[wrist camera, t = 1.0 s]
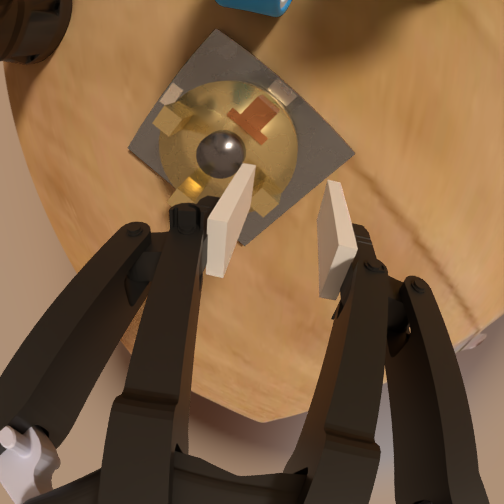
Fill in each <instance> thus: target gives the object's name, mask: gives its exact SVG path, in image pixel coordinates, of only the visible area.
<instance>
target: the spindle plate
mask: <svg viewBox="0 0 504 504" xmlns="http://www.w3.org/2000/svg"><path fill="white" fill-rule="evenodd" d="M217 81H243V82H247V83H251V84H254V85H256V86H259V87H261V88H263V89H265V90H266V91H268V92H270V93H271V94H272V95H273V96H275V97H276V98H277V99H278V100H279V101H280V102H281V103H282V104H283V105H284V107H285V108H286V109H287V111H288V112H289V114H290V116H291V118H292V120H293V122H294V125H295V128H296V132H297V138H298V152H297V162H296V167H295V170H294V173H293V176H292V178H291V180H290V182H289V184H288V186H287V187H286V188H285V190H284V191H283V192H282V193H281V197H280V202H279V204H278V205H277V206H276V207H275V208H274V209H273V210H271V211H270V212H269V213H268V214H267V215H266V216H265V217H262V216H261V215H260V214H258V213H257V212H256V211H253V212H250V213H248V214H247V217H246V219H245V222H244V225H243V227H242V230H241V232H240V235H239V238H238V241H239V242H240V243H242V244H243V245H244V246H245V245H247V244H248V243H249V242H250V241H251V240H253V239H254V238H255V237H256V236H257V235H258V234H260V233H261V232H262V231H263V230H264V229H266V228H267V227H268V226H269V225H270V224H272V223H273V222H274V221H275V220H276V219H277V218H279V217H280V216H281V215H282V214H283V213H285V212H286V211H287V210H288V209H289V208H291V207H292V206H293V205H294V204H295V203H297V202H298V201H299V200H300V199H301V198H303V197H304V196H305V195H306V194H307V193H309V192H310V191H311V190H312V189H313V188H315V187H316V186H317V185H318V184H319V183H321V182H322V181H323V180H324V179H325V178H327V177H328V176H329V175H330V174H331V173H333V172H334V171H335V170H336V169H338V168H339V167H340V166H341V165H342V164H344V163H345V162H346V161H347V160H348V159H350V158H351V157H352V156H353V155H355V152H354V151H353V150H352V149H351V148H350V146H349V145H348V144H347V143H346V142H345V141H344V140H343V139H342V138H341V136H340V135H339V134H338V133H337V132H336V131H335V130H334V129H333V128H332V127H331V126H330V125H329V124H328V123H327V122H326V121H325V120H324V118H323V117H322V116H321V115H320V114H319V113H318V112H317V111H316V110H315V109H314V108H313V107H312V106H310V105H309V104H308V103H307V102H306V101H305V100H304V99H303V98H302V97H301V96H300V95H299V94H298V93H297V92H296V91H295V90H294V89H292V88H291V87H290V86H289V85H288V84H287V83H286V82H285V81H284V80H282V79H281V78H280V77H279V76H278V75H277V74H276V73H274V72H273V71H272V70H271V69H270V68H268V67H267V66H266V65H265V64H264V63H262V62H261V61H260V60H259V59H257V58H256V57H255V56H254V55H252V54H251V53H250V52H249V51H247V50H246V49H245V48H243V47H242V46H241V45H239V44H238V43H237V42H235V41H234V40H233V39H231V38H230V37H228V36H227V35H226V34H224V33H223V32H221V31H220V30H218V29H215V30H214V31H213V32H212V33H211V34H210V36H209V37H208V38H207V39H206V40H205V41H204V42H203V43H202V45H201V46H200V47H199V48H198V49H197V50H196V52H195V53H194V54H193V55H192V56H191V57H190V59H189V60H188V61H187V62H186V64H185V65H184V66H183V67H182V69H181V70H180V71H179V72H178V74H177V75H176V76H175V78H174V79H173V80H172V82H171V83H170V84H169V86H168V87H167V88H166V90H165V91H164V93H163V94H162V95H161V97H160V98H159V100H158V101H157V103H156V104H155V105H154V107H153V108H152V110H151V111H150V113H149V114H148V116H147V117H146V119H145V121H144V122H143V124H142V125H141V127H140V128H139V130H138V132H137V133H136V135H135V137H134V138H133V140H132V142H131V143H130V145H129V147H128V149H129V150H130V151H132V152H133V153H134V154H135V155H136V156H138V157H139V158H140V159H141V160H142V161H144V162H145V163H146V164H147V165H148V166H149V167H151V168H152V169H153V170H154V171H155V172H157V173H158V174H159V175H160V176H161V177H163V178H164V179H165V180H166V181H167V182H169V183H170V184H171V182H170V181H169V179H168V177H167V175H166V173H165V171H164V169H163V166H162V163H161V159H160V154H159V136H160V129H158V128H157V127H156V126H155V125H154V124H152V123H153V121H154V120H155V118H156V117H157V115H158V114H159V113H160V111H161V110H162V108H163V107H164V105H167V104H171V103H174V102H176V101H177V100H178V99H179V98H180V97H181V96H183V95H184V94H185V93H187V92H188V91H190V90H192V89H194V88H196V87H198V86H201V85H204V84H207V83H211V82H217ZM171 185H172V184H171ZM172 186H173V185H172ZM173 187H174V186H173Z"/></svg>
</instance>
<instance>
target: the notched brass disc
mask: <svg viewBox="0 0 504 504" xmlns="http://www.w3.org/2000/svg"><path fill="white" fill-rule="evenodd" d="M152 124H154V125H155V126H156V127H157V128H158V129H160V136H159V154H160V159H161V163H162V166H163V169H164V171H165V173H166V175H167V177H168V179H169V181H170V182H171V184H172V185H173V186H174V187H175V189H176V190H175V192H174V193H173V194H172V196H171V197H170V198H169V199H168V201H167V203H168V204H169V205H170V206H171V207H172V206H174V205H176V204H180V203H195V204H197V203H198V201H199V200H200V199H202V198H203V197H205V196H207V195H209V196H215V197H220V198H221V196H222V195H223V193H224V191H225V190H226V188H227V187H228V185H229V184H230V182H231V181H232V179H233V177H234V176H235V174H236V173H237V171H238V170H239V168H240V167H241V165H242V164H243V163H246V164H252V165H256V169H255V176H254V183H253V191H252V198H251V206H250V209H249V212H248V213H250V212H253V211H256V212H257V213H258V214H260V215H261V216H262V217H265V216H266V215H267V214H268V213H269V212H270V211H271V210H273V209H274V208H275V207H276V206H277V205H278V204H279V202H280V197H281V193H282V192H283V191H284V190H285V188H286V187H287V186H288V184H289V182H290V180H291V178H292V176H293V173H294V170H295V167H296V162H297V152H298V138H297V132H296V128H295V125H294V122H293V120H292V118H291V116H290V114H289V112H288V111H287V109H286V108H285V107H284V105H283V104H282V103H281V102H280V101H279V100H278V99H277V98H276V97H275V96H273V95H272V94H271V93H270V92H268V91H266V90H265V89H263V88H261V87H259V86H256V85H254V84H251V83H247V82H243V81H217V82H211V83H207V84H204V85H201V86H198V87H196V88H194V89H192V90H190V91H188V92H187V93H185V94H184V95H183V96H181V97H180V98H179V99H178V100H177V101H176V102H174V103H171V104H167V105H164V107H163V108H162V110H161V111H160V113H159V114H158V115H157V117H156V118H155V120H154V121H153V123H152Z"/></svg>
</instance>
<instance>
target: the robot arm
mask: <svg viewBox="0 0 504 504" xmlns="http://www.w3.org/2000/svg"><path fill="white" fill-rule="evenodd" d="M71 11H72V0H0V61H6V62H12V63H18V64H23V65H27V64H33V63H37V62H40V61H42V60H44V59H46V58H47V57H48V56H49V55H50V54H51V53H52V52H53V51H54V50H55V48H56V47H57V46H58V44H59V43H60V41H61V39H62V37H63V35H64V33H65V31H66V29H67V26H68V23H69V20H70V16H71ZM255 169H256V165H252V164H246V163H243V164H242V165H241V167H240V168H239V170H238V171H237V173H236V174H235V176H234V177H233V179H232V181H231V182H230V184H229V185H228V187H227V188H226V190H225V191H224V193H223V195H222V196H221V198H220V197H215V196H209V195H207V196H205V197H203V198H202V199H200V200H199V201H198V203H197V204H195V203H180V204H176V205H174V206H172V207H171V208H170V210H169V216H170V230H169V232H158V233H151V231H150V226H149V225H148V224H146V223H143V222H131V223H128V224H126V225H124V226H123V227H121V228H120V229H119V230H118V231H117V232H116V233H115V234H114V235H113V236H112V237H111V238H110V239H109V240H108V241H107V242H106V243H105V244H104V245H103V246H102V247H101V248H100V250H99V251H98V252H97V253H96V254H95V255H94V256H93V257H92V258H91V259H90V260H89V261H88V262H87V264H86V265H85V266H84V267H83V268H82V269H81V270H80V271H79V272H78V274H77V275H76V276H75V277H74V278H73V279H72V280H71V282H70V283H69V284H68V285H67V286H66V288H65V289H64V290H63V291H62V292H61V293H60V295H59V296H58V297H57V298H56V300H55V301H54V302H53V303H52V304H51V306H50V307H49V308H48V309H47V311H46V312H45V313H44V315H43V316H42V317H41V319H40V320H39V321H38V322H37V324H36V325H35V326H34V328H33V329H32V331H31V332H30V333H29V335H28V336H27V337H26V339H25V340H24V342H23V343H22V344H21V346H20V348H19V349H18V351H17V352H16V353H15V355H14V357H13V358H12V359H11V361H10V362H9V364H8V365H7V367H6V369H5V370H4V372H3V373H2V375H1V377H0V482H1V484H2V485H3V487H4V488H5V490H6V491H7V493H8V494H9V496H10V497H11V499H12V500H13V502H14V503H15V504H368V503H369V500H370V497H371V493H372V490H373V486H374V482H375V478H376V474H377V470H378V466H379V461H380V453H381V451H380V446H379V445H377V444H376V443H375V440H374V436H375V430H376V424H377V418H378V412H379V406H380V399H381V392H382V384H383V376H384V366H385V369H386V376H387V383H388V391H389V400H390V408H391V418H392V431H393V447H394V485H395V501H396V504H489V500H488V497H487V494H486V491H485V488H484V485H483V483H482V480H481V477H480V474H479V471H478V459H477V451H476V443H475V436H474V430H473V424H472V419H471V414H470V409H469V404H468V400H467V395H466V391H465V387H464V383H463V379H462V376H461V372H460V369H459V365H458V362H457V359H456V355H455V352H454V349H453V346H452V343H451V340H450V337H449V334H448V331H447V328H446V326H445V323H444V320H443V318H442V315H441V312H440V310H439V307H438V305H437V302H436V300H435V298H434V295H433V293H432V290H431V288H430V287H429V285H428V284H427V283H426V282H425V281H424V280H423V279H421V278H419V277H416V276H408V277H406V279H405V280H404V282H401V281H399V280H396V279H394V278H392V277H390V276H388V271H387V268H386V266H385V265H384V264H383V263H382V262H381V261H379V260H378V259H377V258H376V255H375V252H374V248H373V245H372V242H371V240H370V235H369V232H368V231H367V230H366V229H365V228H364V226H362V225H357V224H353V223H351V219H350V215H349V212H348V208H347V204H346V201H345V197H344V193H343V190H342V187H341V183H340V182H336V181H332V180H327V184H326V188H325V192H324V196H323V199H322V203H321V207H320V211H319V214H318V218H317V233H318V261H319V297H321V298H326V299H332V300H336V299H337V297H338V295H339V292H340V295H341V300H340V302H339V304H338V306H337V308H336V310H335V312H334V314H333V316H332V318H331V319H333V320H334V322H333V327H332V331H331V335H330V339H329V343H328V347H327V350H326V354H325V358H324V361H323V365H322V369H321V372H320V376H319V379H318V382H317V386H316V389H315V392H314V396H313V399H312V402H311V405H310V408H309V411H308V414H307V417H306V420H305V423H304V426H303V429H302V432H301V435H300V437H299V440H298V443H297V445H296V448H295V450H294V452H293V454H292V456H291V458H290V459H289V461H288V462H287V464H286V466H285V468H284V471H283V473H276V474H266V475H255V476H237V475H234V474H232V473H230V472H228V471H225V470H223V469H221V468H219V467H217V466H215V465H213V464H211V463H208V462H207V461H205V460H203V459H201V458H198V457H194V456H190V455H188V421H189V407H190V394H191V382H192V371H193V360H194V350H195V341H196V332H197V323H198V314H199V306H200V298H201V290H202V282H203V271H204V269H205V266H206V274H207V275H212V276H216V277H221V278H223V277H224V274H225V272H226V269H227V266H228V264H229V261H230V258H231V256H232V253H233V251H234V248H235V245H236V243H237V240H238V238H239V235H240V232H241V230H242V227H243V225H244V222H245V219H246V217H247V214H248V212H249V209H250V206H251V198H252V191H253V183H254V176H255ZM147 296H148V297H147ZM146 297H147V300H146V304H145V307H144V310H143V314H142V318H141V321H140V325H139V328H138V332H137V336H136V340H135V344H134V348H133V352H132V356H131V360H130V364H129V369H128V373H127V377H126V382H125V387H124V390H123V392H122V394H121V395H119V396H117V397H116V398H115V400H114V402H113V405H112V408H111V412H110V417H109V422H108V428H107V434H106V440H105V446H104V453H103V460H102V467H101V468H100V469H98V470H96V471H94V472H92V473H90V474H88V475H86V476H84V477H82V478H79V479H77V480H75V481H73V482H71V483H68V484H66V485H64V486H61V487H59V488H57V489H54V490H53V488H52V483H51V479H52V474H53V472H54V471H55V470H56V469H58V468H59V466H60V459H59V457H58V454H57V451H56V449H57V448H58V447H59V446H60V445H61V443H62V442H63V440H64V439H65V438H66V437H67V435H68V434H69V432H70V430H71V429H72V427H73V425H74V423H75V421H76V419H77V417H78V415H79V413H80V411H81V410H82V408H83V406H84V404H85V402H86V400H87V398H88V396H89V394H90V392H91V390H92V388H93V387H94V385H95V383H96V381H97V379H98V377H99V376H100V374H101V372H102V370H103V369H104V367H105V365H106V363H107V362H108V360H109V358H110V356H111V355H112V353H113V351H114V349H115V348H116V346H117V344H118V343H119V341H120V339H121V338H122V336H123V334H124V333H125V331H126V329H127V328H128V326H129V324H130V323H131V321H132V319H133V318H134V316H135V315H136V313H137V311H138V310H139V308H140V307H141V305H142V303H143V302H144V300H145V299H146ZM409 327H410V329H411V333H410V331H409Z"/></svg>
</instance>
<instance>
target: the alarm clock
mask: <svg viewBox="0 0 504 504" xmlns="http://www.w3.org/2000/svg"><path fill="white" fill-rule="evenodd" d="M215 1H216V2H217V3H218V4H219V5H221V6H223V7H228V8H234V9H240V10H245V11H250V12H255V13H260V14H264V15H268V16H272V17H279V16H281V15H283V14H284V13H285V11H286V10H287V9H288V7H289V5H290V3H291V1H292V0H215Z"/></svg>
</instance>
